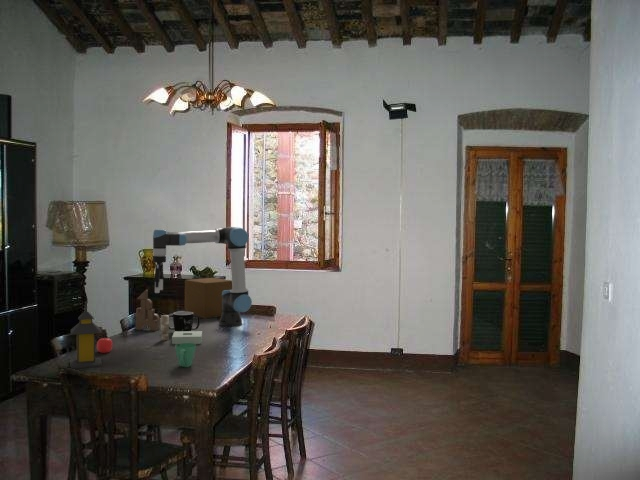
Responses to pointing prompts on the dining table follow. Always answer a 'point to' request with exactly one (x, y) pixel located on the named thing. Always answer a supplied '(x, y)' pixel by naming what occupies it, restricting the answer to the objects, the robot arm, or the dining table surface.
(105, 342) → the red rounded cube
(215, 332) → the dining table surface
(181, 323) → the mug
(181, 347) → the mug
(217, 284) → the wood block
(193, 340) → the board
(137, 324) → the wooden toy
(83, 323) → the lantern
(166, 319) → the leg
